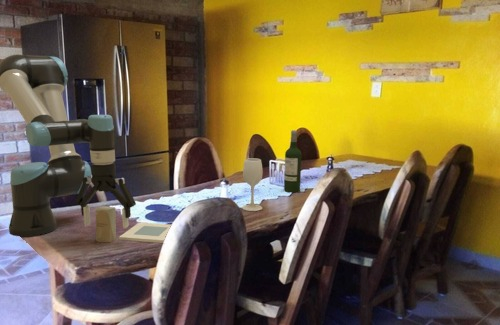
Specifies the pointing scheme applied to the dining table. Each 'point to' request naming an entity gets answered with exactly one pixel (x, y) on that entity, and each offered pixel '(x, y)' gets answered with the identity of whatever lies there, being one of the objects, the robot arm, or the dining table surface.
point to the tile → (146, 232)
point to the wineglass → (252, 179)
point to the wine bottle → (292, 166)
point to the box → (105, 224)
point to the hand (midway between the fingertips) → (106, 226)
